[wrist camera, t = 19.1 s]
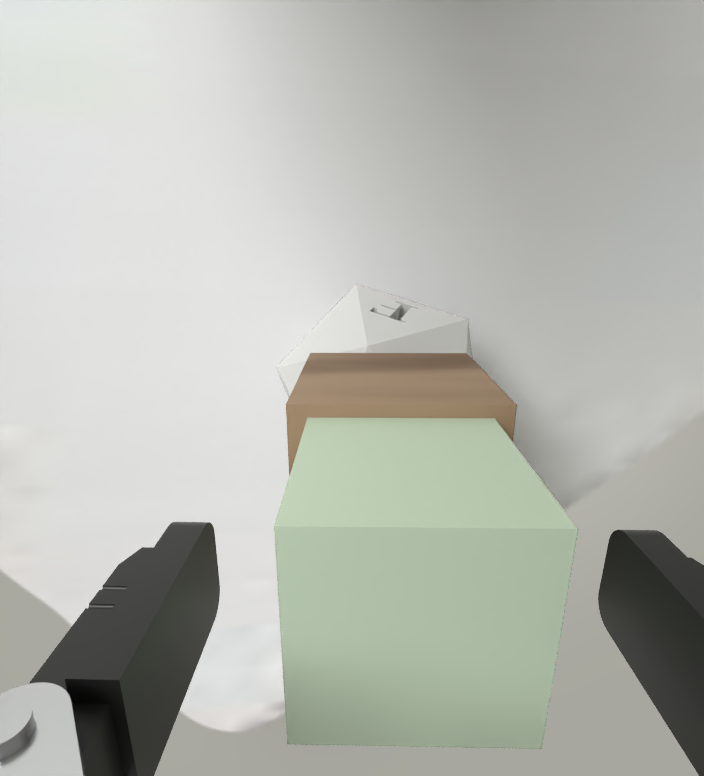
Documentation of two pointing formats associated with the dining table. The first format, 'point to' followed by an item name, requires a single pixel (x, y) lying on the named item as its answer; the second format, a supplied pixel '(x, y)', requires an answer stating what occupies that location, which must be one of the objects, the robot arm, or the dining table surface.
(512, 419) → the walnut block
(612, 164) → the dining table surface
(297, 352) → the die
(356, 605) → the green block
